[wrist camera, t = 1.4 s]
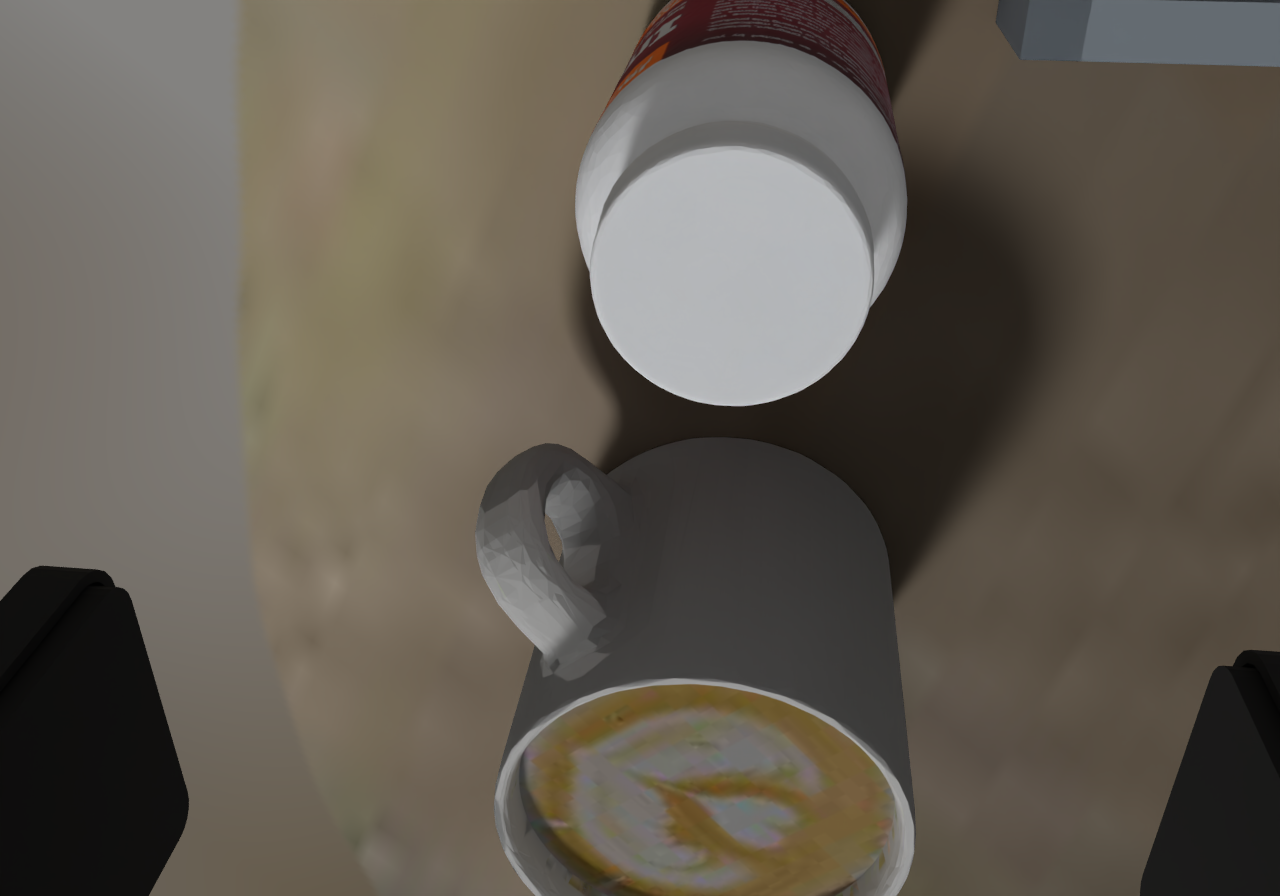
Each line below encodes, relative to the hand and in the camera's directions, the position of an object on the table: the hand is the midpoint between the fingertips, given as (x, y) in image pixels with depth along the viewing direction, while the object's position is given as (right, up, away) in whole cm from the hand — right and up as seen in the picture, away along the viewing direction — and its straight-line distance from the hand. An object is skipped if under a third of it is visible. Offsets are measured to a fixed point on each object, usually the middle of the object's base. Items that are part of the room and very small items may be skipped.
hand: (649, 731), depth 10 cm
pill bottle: (+3, +11, +18) cm, 22 cm away
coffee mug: (+2, 0, +25) cm, 25 cm away
